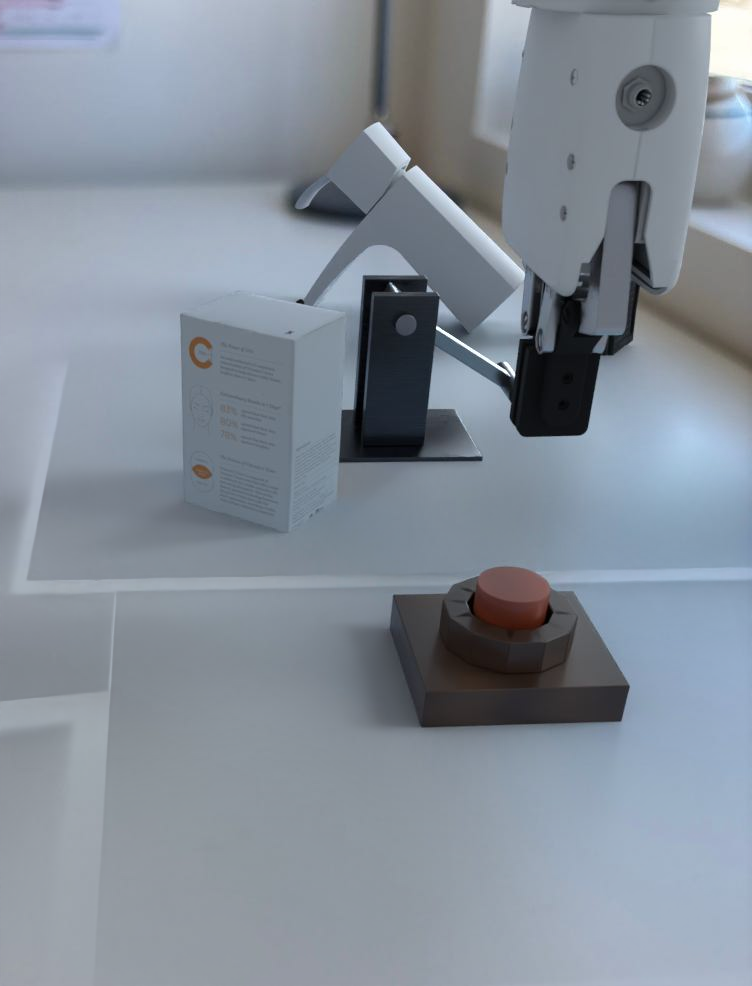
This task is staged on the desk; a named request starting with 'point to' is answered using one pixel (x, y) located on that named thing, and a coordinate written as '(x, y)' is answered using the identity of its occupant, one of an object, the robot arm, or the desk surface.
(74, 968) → the desk surface
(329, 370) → the small box
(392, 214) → the faucet
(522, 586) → the button
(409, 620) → the button block
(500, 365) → the tap lever
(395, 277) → the bracket
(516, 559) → the desk surface
